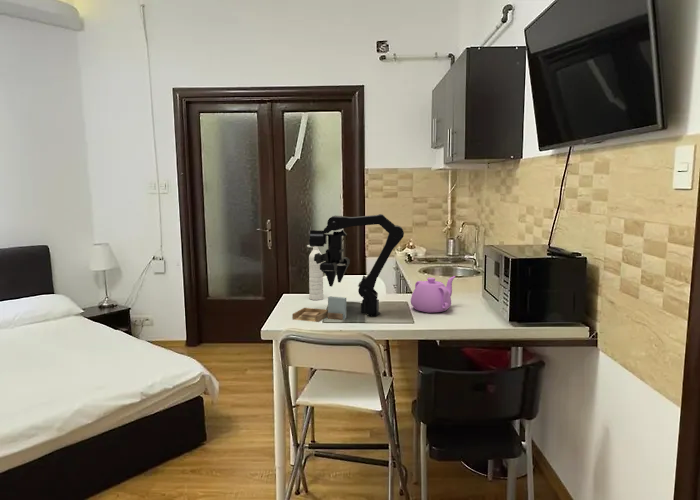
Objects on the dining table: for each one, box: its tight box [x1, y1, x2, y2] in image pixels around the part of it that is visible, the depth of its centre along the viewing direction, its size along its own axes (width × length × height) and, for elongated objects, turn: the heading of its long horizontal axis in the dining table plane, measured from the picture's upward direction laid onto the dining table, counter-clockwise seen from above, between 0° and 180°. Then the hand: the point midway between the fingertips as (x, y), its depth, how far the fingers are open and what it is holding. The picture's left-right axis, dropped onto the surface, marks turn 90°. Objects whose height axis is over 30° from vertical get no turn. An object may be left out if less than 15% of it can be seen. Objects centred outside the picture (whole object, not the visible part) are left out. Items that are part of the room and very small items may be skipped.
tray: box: [292, 307, 328, 323], centre depth 208 cm, size 11×11×3 cm
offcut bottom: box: [299, 316, 316, 320], centre depth 206 cm, size 7×5×1 cm
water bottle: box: [306, 244, 324, 301], centre depth 244 cm, size 9×6×25 cm
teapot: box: [410, 275, 456, 314], centre depth 224 cm, size 22×22×14 cm
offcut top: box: [301, 312, 319, 318], centre depth 206 cm, size 6×4×1 cm
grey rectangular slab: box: [327, 296, 347, 320], centre depth 207 cm, size 7×2×9 cm, turn 71°
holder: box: [327, 310, 348, 321], centre depth 207 cm, size 6×5×3 cm
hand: (335, 284), depth 214 cm, fingers open, 9 cm apart
